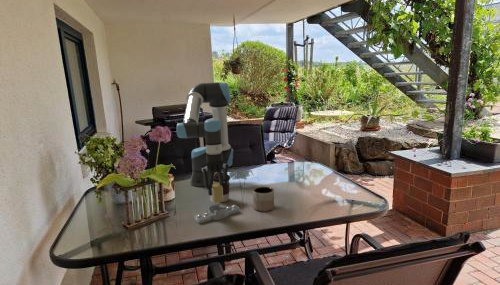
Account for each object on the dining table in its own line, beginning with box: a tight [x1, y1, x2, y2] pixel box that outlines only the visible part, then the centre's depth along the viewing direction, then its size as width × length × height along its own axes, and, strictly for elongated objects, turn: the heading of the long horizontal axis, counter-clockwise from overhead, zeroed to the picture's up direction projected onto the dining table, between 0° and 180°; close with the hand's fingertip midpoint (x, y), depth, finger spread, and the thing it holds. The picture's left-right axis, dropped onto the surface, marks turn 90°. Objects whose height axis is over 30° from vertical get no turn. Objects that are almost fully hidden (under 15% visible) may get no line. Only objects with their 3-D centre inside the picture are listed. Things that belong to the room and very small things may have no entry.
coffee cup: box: [213, 171, 231, 203], centre depth 174 cm, size 10×10×15 cm
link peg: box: [212, 183, 223, 204], centre depth 152 cm, size 4×4×8 cm
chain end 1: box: [193, 204, 223, 225], centre depth 151 cm, size 8×11×4 cm
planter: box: [252, 186, 275, 212], centre depth 162 cm, size 11×11×10 cm
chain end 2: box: [214, 203, 240, 219], centre depth 157 cm, size 8×11×4 cm
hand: (216, 200), depth 153 cm, fingers closed on link peg, 4 cm apart
